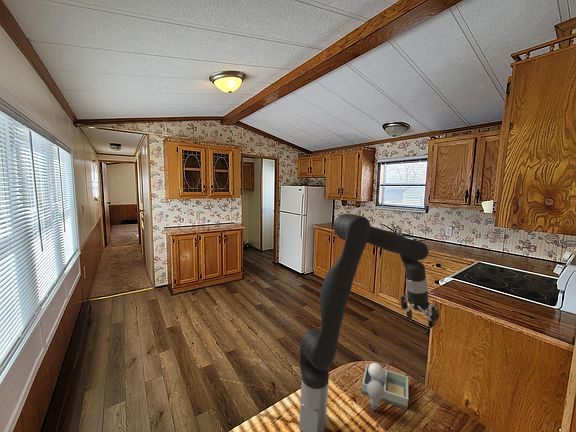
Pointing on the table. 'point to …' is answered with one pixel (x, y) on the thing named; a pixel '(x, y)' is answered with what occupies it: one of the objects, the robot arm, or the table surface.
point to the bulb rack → (387, 384)
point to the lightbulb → (375, 393)
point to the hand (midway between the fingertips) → (420, 322)
